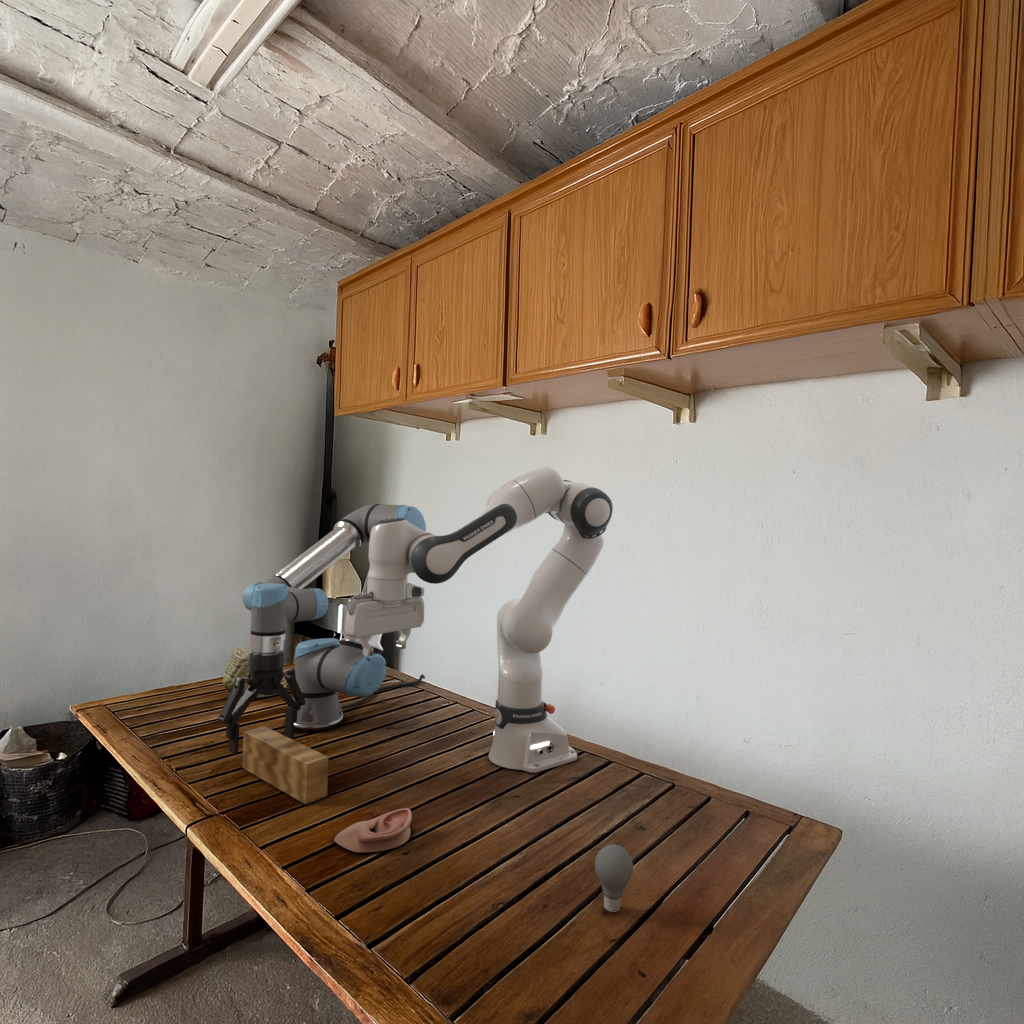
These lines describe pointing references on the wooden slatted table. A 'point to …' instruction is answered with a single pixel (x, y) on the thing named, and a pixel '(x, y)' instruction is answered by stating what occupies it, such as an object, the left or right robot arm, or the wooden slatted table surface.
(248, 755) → the bar
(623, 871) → the light bulb
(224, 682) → the fossil
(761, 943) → the wooden slatted table surface
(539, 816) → the wooden slatted table surface
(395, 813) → the anatomical model
